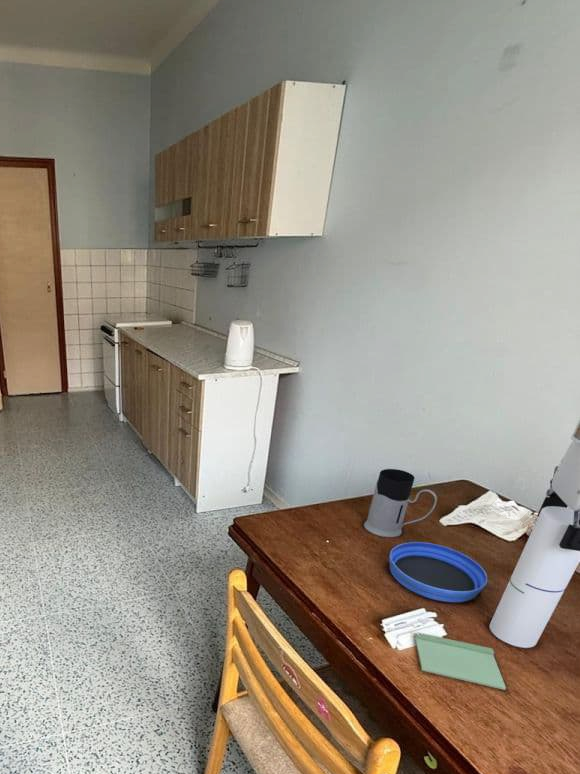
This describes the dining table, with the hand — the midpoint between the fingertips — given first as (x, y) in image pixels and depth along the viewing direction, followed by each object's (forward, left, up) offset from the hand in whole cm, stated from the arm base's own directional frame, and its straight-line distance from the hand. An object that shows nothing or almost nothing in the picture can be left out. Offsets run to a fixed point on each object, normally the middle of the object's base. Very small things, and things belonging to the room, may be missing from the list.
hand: (559, 533), depth 77 cm
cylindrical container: (0, 0, -22) cm, 22 cm away
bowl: (+11, -14, -22) cm, 28 cm away
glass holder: (+17, -32, -22) cm, 42 cm away
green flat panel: (+11, +11, -22) cm, 27 cm away
